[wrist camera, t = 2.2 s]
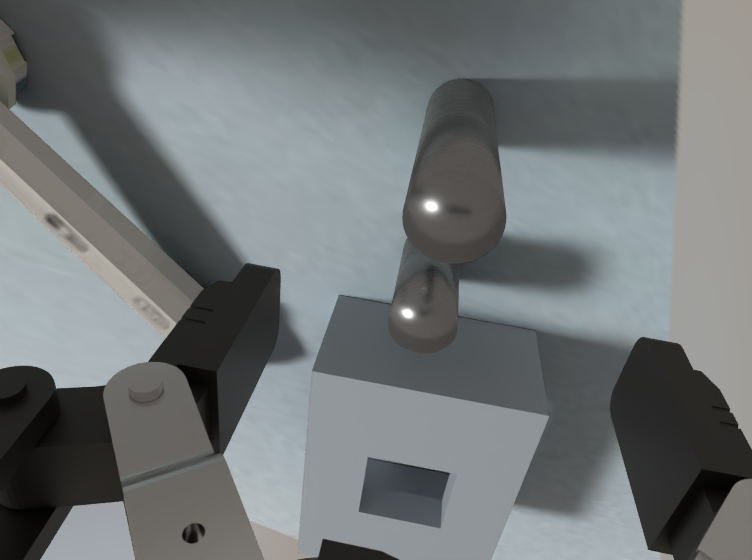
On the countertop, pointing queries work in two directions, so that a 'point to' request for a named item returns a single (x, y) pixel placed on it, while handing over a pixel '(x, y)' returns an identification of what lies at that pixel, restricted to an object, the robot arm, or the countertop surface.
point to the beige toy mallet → (85, 212)
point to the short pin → (424, 303)
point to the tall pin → (456, 177)
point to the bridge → (418, 436)
